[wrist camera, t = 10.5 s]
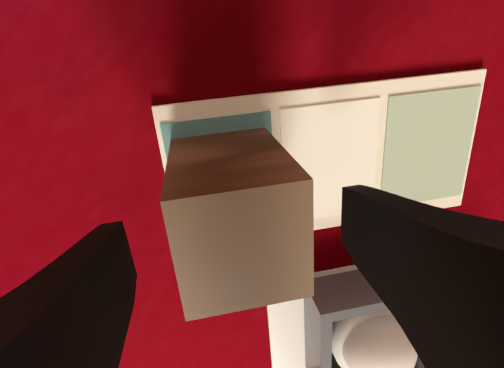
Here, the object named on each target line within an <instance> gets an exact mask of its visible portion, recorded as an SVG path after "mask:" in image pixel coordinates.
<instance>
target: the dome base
mask: <svg viewBox="0 0 504 368" xmlns="http://www.w3.org/2000/svg"><path fill="white" fill-rule="evenodd" d="M387 310H389V309H388V308H387V307H386V305H385V304H384V303H383V301H382V300H381V299H380V298H379V296H378V295H377V294H376V292H375V291H374V290H373V288H372V287H371V286H370V284H369V283H368V282H367V280H366V279H365V278H364V276H363V275H362V274H361V272H360V271H359V270H358V268H357V267H356V265H350V266H345V267H340V268H334V269H329V270H324V271H319V272H314V296H313V297H307V298H302V299H297V300H292V301H287V302H282V303H277V304H272V305H267V316H268V328H269V340H270V352H271V364H272V368H341V367H340V366H339V365H338V363H337V361H336V359H335V357H334V355H333V353H332V322H335V321H340V320H344V319H349V318H354V317H359V316H363V315H368V314H373V313H378V312H382V311H387ZM414 368H425V367H424V365H423V363H422V362H421V360H420V358H419V356H418V355H417V361H416V364H415V366H414Z"/></svg>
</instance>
